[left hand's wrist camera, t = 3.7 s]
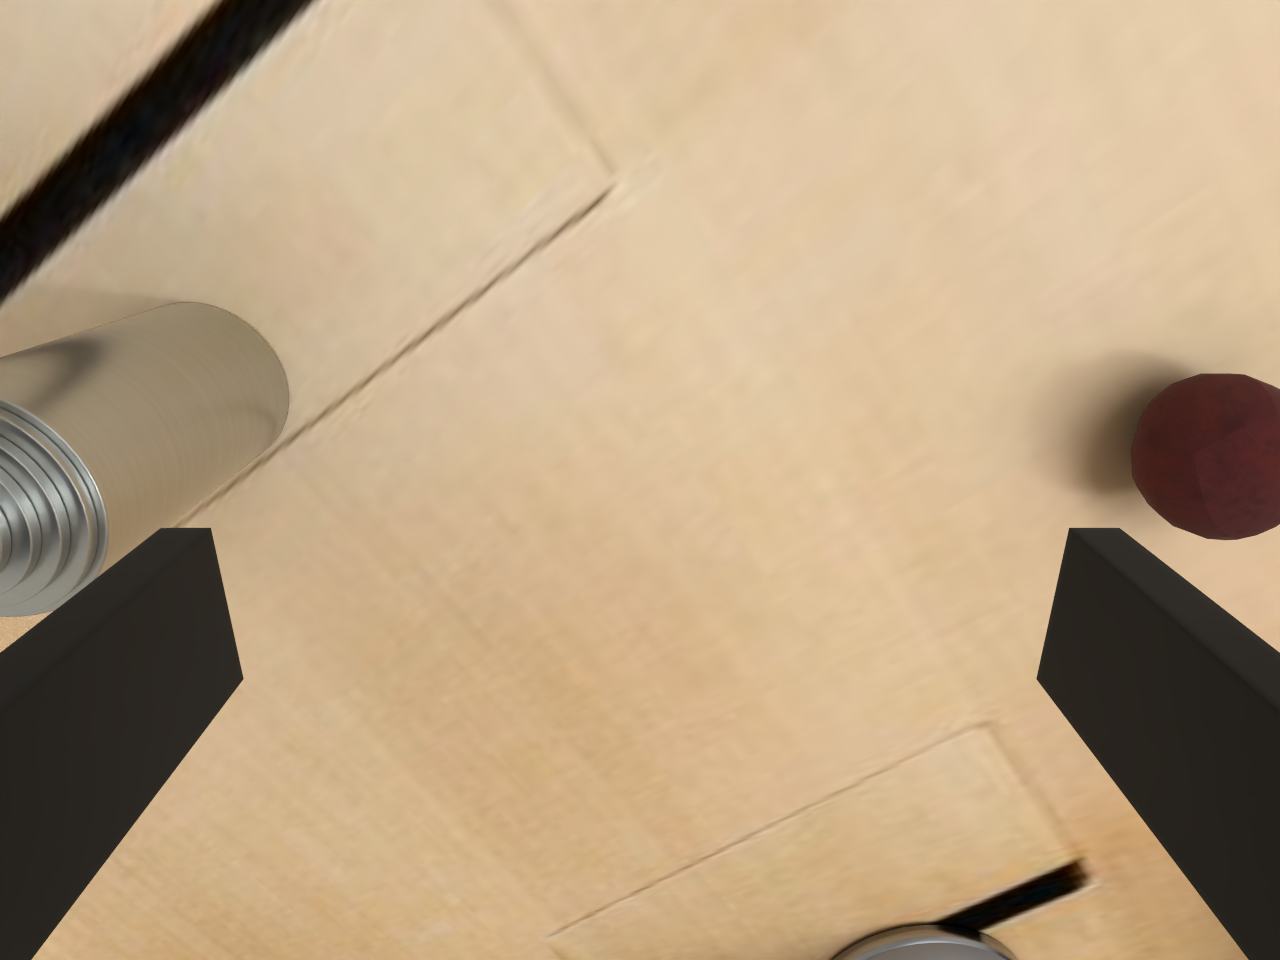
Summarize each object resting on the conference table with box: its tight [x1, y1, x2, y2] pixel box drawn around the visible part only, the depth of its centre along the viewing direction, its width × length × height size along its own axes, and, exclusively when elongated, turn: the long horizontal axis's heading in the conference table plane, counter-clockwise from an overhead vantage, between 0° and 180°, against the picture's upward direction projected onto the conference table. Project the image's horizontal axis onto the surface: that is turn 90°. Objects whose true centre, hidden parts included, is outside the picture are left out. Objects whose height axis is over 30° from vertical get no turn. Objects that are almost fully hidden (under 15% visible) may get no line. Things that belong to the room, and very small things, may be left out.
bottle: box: [0, 303, 289, 617], centre depth 31 cm, size 8×8×19 cm
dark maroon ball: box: [1131, 374, 1280, 540], centre depth 38 cm, size 7×8×7 cm
